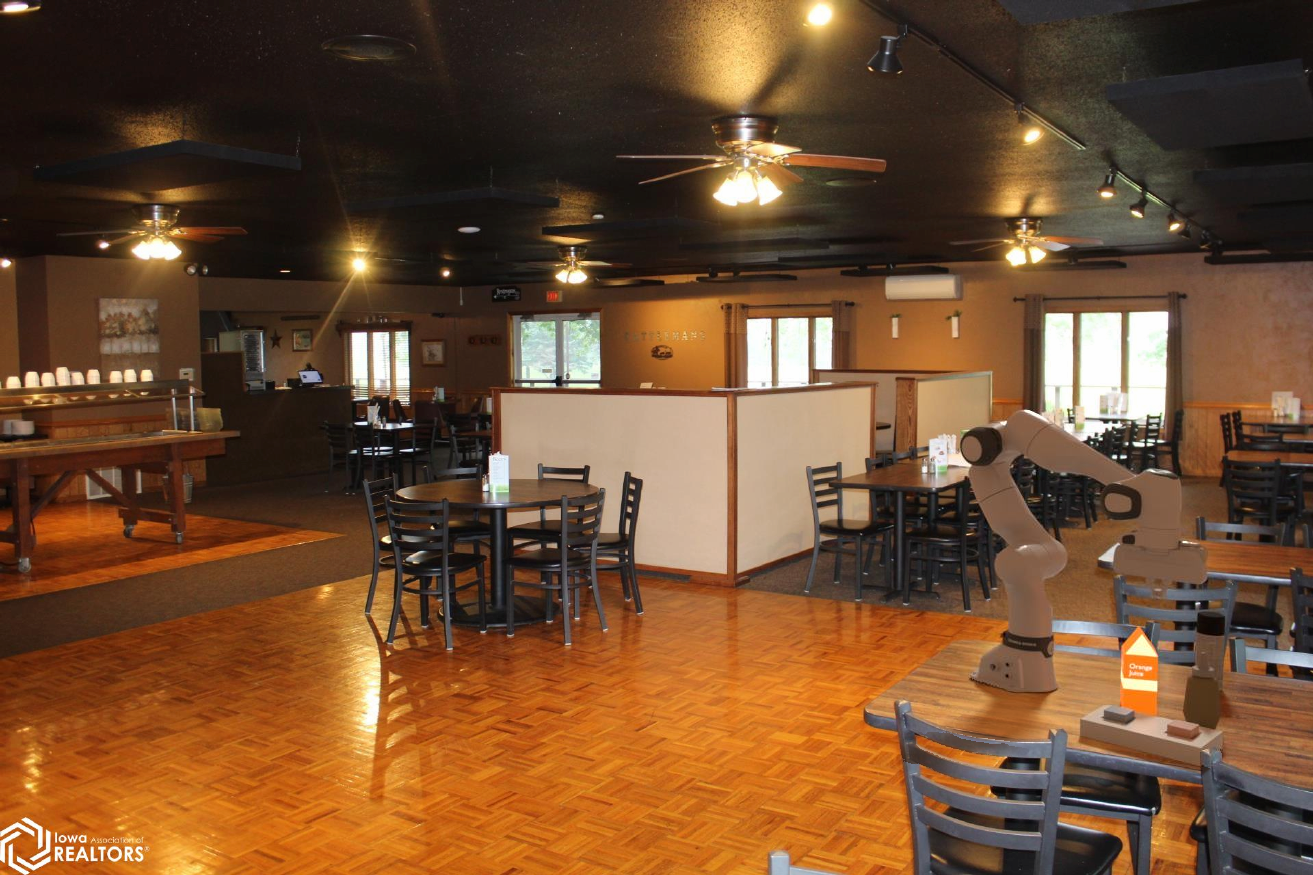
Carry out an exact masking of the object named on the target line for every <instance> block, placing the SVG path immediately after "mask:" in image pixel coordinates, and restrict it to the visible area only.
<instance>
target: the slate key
mask: <svg viewBox="0 0 1313 875" xmlns="http://www.w3.org/2000/svg"><path fill="white" fill-rule="evenodd" d="M1109 706H1110V707H1108V708H1107V709H1105V710H1104V719H1108V720H1112V721H1116V722H1121V723H1125V724H1128V723H1129V722H1131V721H1133V720H1134V711H1135V710H1132V709H1128V708H1124V707H1122V706H1118V705H1114V704H1112V705H1109Z"/></svg>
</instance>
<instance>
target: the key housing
mask: <svg viewBox="0 0 1313 875" xmlns="http://www.w3.org/2000/svg"><path fill="white" fill-rule="evenodd" d="M1110 706H1111V705H1110V704H1109V705H1108V704H1104V705H1102V706H1101V707H1099V708H1097V709H1095V710H1094V711H1092V712H1090V713H1088V714H1086V715H1084V716H1082V717H1081V718H1080V722H1079V736H1080V737H1083V738H1084V737H1085V738H1087V739H1091V740H1095V741H1099V742H1104V743H1107V744H1111V745H1115V746H1119V747H1122V748H1128V749H1131V750H1134V751H1139V752H1143V753H1146V754H1151V755H1155V756H1158V757H1161V758H1162V757H1163V758H1165V759H1169V760H1170V759H1171V760H1174V761H1177V762H1182V763H1187V764H1189V765H1194V766H1197V767H1201V766H1202V765H1200V752H1201V751H1202V750H1205V749H1208V748H1210V747H1216V748H1218V749H1221V751H1222V750H1223V745H1224V744H1223V743H1224V742H1223V741H1224V740H1223V738H1224V737H1223V736H1224V731H1223V730H1222V731H1221V730H1218V729H1215V730H1214V729H1210V728H1205V727H1201V726H1199V735H1198V736H1197V737H1196V738H1194V739H1193V740H1192V739H1188V738H1184V737H1179V736H1175V735H1171V734H1167V725H1168V724H1169V723H1171V722H1172V721H1174V720H1175V719H1170V718H1165V717H1161V716H1157V715H1149V714H1144V713H1140V712H1135V711H1134V720H1133V721H1131V722H1129V723H1128V724H1125V723H1121V722H1116V721H1112V720H1108V719H1104V710H1105V709H1107V708H1108V707H1110Z"/></svg>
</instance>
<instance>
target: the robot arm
mask: <svg viewBox="0 0 1313 875" xmlns="http://www.w3.org/2000/svg"><path fill="white" fill-rule="evenodd" d="M959 450H960V453H961V456H962V458H963V459H964V461H966V463H968V464H969V465H971V466H970V467H969V468H968V471H967V472H968V474H967V475H968V478H969V482H970V485H971V489H972V491H973V494H974V496H975V499H976V500H977V503H978V505H979V507H980V509H981V511H982V512H983V515H984V517H985V519H986V521H987V522H988V524H989V527H990V528H991V530H992V531H993V533H995V534H997V535H999V536H1000V537H1001V538H1002V539H1003V540H1004V541H1005V542H1006V543H1007V544H1008V546H1006V547H1005V548H1003V549H1002V550H1001V551H999V553H998V554H997V555H996V557H995V559H994V570H995V571H994V572H995V573H996V575H997V576H998V578H999V579H1000V580H1001V581H1002V584H1003V585H1004V588H1005V594H1006V596H1007V604H1008V628H1007V630H1004V631H1002V632H1001V633H999V637H998V638H999V639H1002V641H1001V643H999V644H997V645H996V646H994V647H992V648H991V649H989V650H988V651H986V652H985V653H983V655H982V656H981V658H980V661H979V666H978V668H976V669H974V670H973V671H971V672H970V674H969V675H970V676H969V679H970V678H972V679H971V680H973V679H974V680H973V681H976V680H978V681H977V682H979V681H980V683H982V682H985V683H987V684H986V685H988V684H991V685H990V686H992V685H993V686H992V687H995V686H998V687H1000V688H999V689H1001V688H1004V689H1006V690H1005V691H1008V692H1011V691H1012V692H1011V693H1047V692H1051V691H1055V690H1056V689H1057V688H1059V687H1058V686H1059V685H1058V682H1057V677H1056V675H1055V674H1056V673H1055V667H1054V650H1055V635H1054V633H1053V621H1054V620H1053V619H1054V617H1053V614H1054V607H1053V604H1052V602H1051V601H1050V600H1049V599H1048V596H1047V594H1046V589H1045V583H1044V582H1045V580H1046V579H1050V578H1053V577H1054V576H1056V575H1058V574H1059V573H1060V572H1061V571H1062V570H1063V569H1065V567H1066V565H1067V562H1068V553H1067V550H1066V547H1065V546H1064V545H1063V543H1061V542H1060V541H1059V540H1056V539H1055V538H1054V537H1053V536H1051V535H1050V534H1049V532H1047V531H1046V529H1045V527H1043V526H1042V524H1041V523H1040V522H1039V521H1038V520H1037V518H1036V517H1035V516H1034V514H1033V513H1032V512H1031V510H1030V508H1029V507H1028V505H1027V503H1026V501H1025V499H1024V497H1023V495H1022V493H1021V491H1020V490H1019V488H1018V486H1017V484H1016V483H1015V482H1016V481H1015V480H1014V479H1013V477H1012V475H1011V468H1010V467H1011V465H1018V464H1020V462H1021V460H1022V459H1023V458H1024V457H1026V458H1028V460H1030V461H1031V462H1033V463H1034V464H1035V465H1037V466H1039V467H1041V468H1043V469H1045V470H1047V471H1049V472H1053V473H1060V474H1074V475H1075V474H1076V475H1081V476H1086V477H1090V478H1092V479H1094V480H1096V481H1098V482H1100V483H1101V484H1103V485H1104V486H1105V487H1103V489H1102V490H1101V493H1100V496H1099V505H1100V508H1101V511H1102V512H1103V514H1104V515H1105V516H1106V517H1107V518H1108V519H1110V520H1112V521H1117V522H1127V521H1128V522H1129V521H1138V523H1139V528H1138V529H1136V530H1131V531H1129V532H1125V533H1122V534H1119V535H1118V536H1117V542H1118V545H1116V547H1115V549H1114V552H1113V559H1112V570H1113V571H1114V573H1116V574H1119V575H1128V576H1134V577H1141V578H1145V583H1146V585H1147V587H1148V589H1149V590H1150V598H1157V599H1164V600H1165V599H1166V598H1167V591H1168V590H1169V589H1170V587H1171V585H1172V582H1178V583H1185V584H1193V585H1201V584H1203V583H1205V582H1206V581H1207V580H1208V569H1207V568H1208V566H1207V561H1208V549H1207V548H1206V547H1205V546H1203V545H1202V544H1201V543H1198V542H1189V541H1184V540H1183V541H1182V524H1181V517H1180V516H1181V513H1182V510H1183V493H1182V483H1181V480H1180V477H1179V476H1178V475H1177V474H1176V473H1174V472H1173V471H1169V470H1165V469H1159V468H1147V469H1144V470H1143V471H1142V472H1140V473H1136V472H1134V471H1132V469H1131V470H1130V469H1129V468H1127V467H1126V466H1124V465H1122V464H1121V463H1119V462H1117V461H1115V460H1114V459H1112V458H1111V457H1109V456H1107V455H1105V454H1103V453H1102V452H1101V451H1098V450H1096V449H1094V448H1093V447H1092V446H1089V445H1088V444H1087V443H1085V442H1083V441H1082V440H1080V439H1078V438H1077V437H1075V436H1074V435H1072V434H1071V433H1070V432H1068V431H1067V430H1065V429H1064V428H1063V427H1060V426H1059V425H1058V424H1056V423H1055V422H1053V421H1052V420H1050V419H1048V418H1047V417H1044V416H1043V415H1041V414H1038V413H1037V412H1035V411H1032V410H1028V409H1021V410H1017V411H1016V412H1014V413H1012V414H1011V415H1010V417H1009V418H1008V419H1006V420H998V421H997V420H996V421H991V422H990V423H987V424H983V425H981V426H975V427H973V428H970V429H969V430H968V431H966V432H965V433H964V434H963V435H962V436H961V439H960V443H959ZM1156 580H1161V584H1162V585H1163V587H1162V588H1161V589H1159V588H1157V587H1156V585H1155V583H1154V582H1156ZM985 683H984V684H985ZM998 687H997V688H998ZM1004 689H1003V690H1004Z"/></svg>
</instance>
